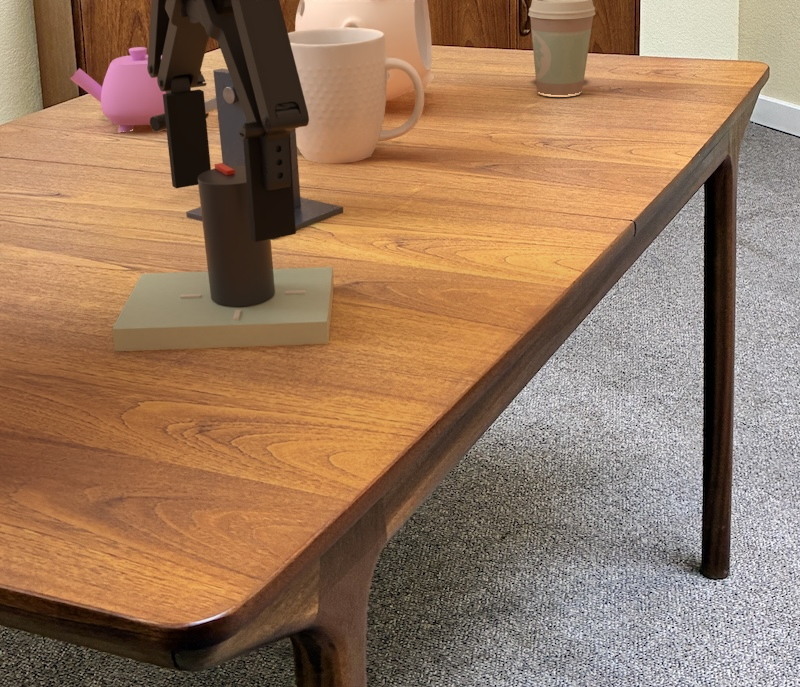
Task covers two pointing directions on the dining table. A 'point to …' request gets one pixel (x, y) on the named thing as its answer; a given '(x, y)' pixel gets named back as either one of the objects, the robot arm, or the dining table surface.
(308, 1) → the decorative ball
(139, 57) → the teapot
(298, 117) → the robot arm
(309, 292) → the panel
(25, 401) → the dining table surface
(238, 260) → the program knob
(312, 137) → the mug
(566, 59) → the coffee cup
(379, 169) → the dining table surface
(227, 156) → the bracket
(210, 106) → the lever
